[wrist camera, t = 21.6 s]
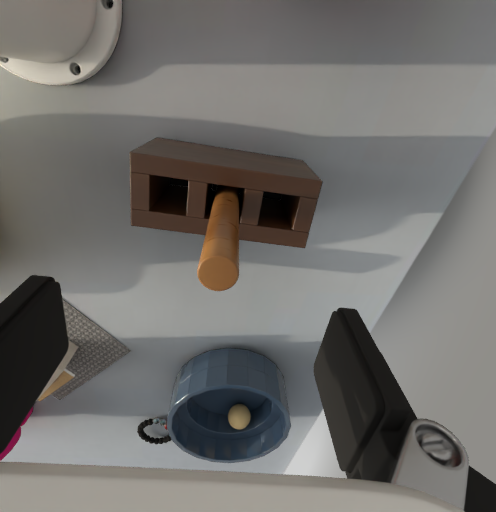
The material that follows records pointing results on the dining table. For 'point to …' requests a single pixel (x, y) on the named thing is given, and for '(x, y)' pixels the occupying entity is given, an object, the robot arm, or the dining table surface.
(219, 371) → the mixing bowl
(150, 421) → the bracelet
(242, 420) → the dough ball
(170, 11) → the dining table surface
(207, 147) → the rack
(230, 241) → the stick
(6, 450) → the pepper mill
